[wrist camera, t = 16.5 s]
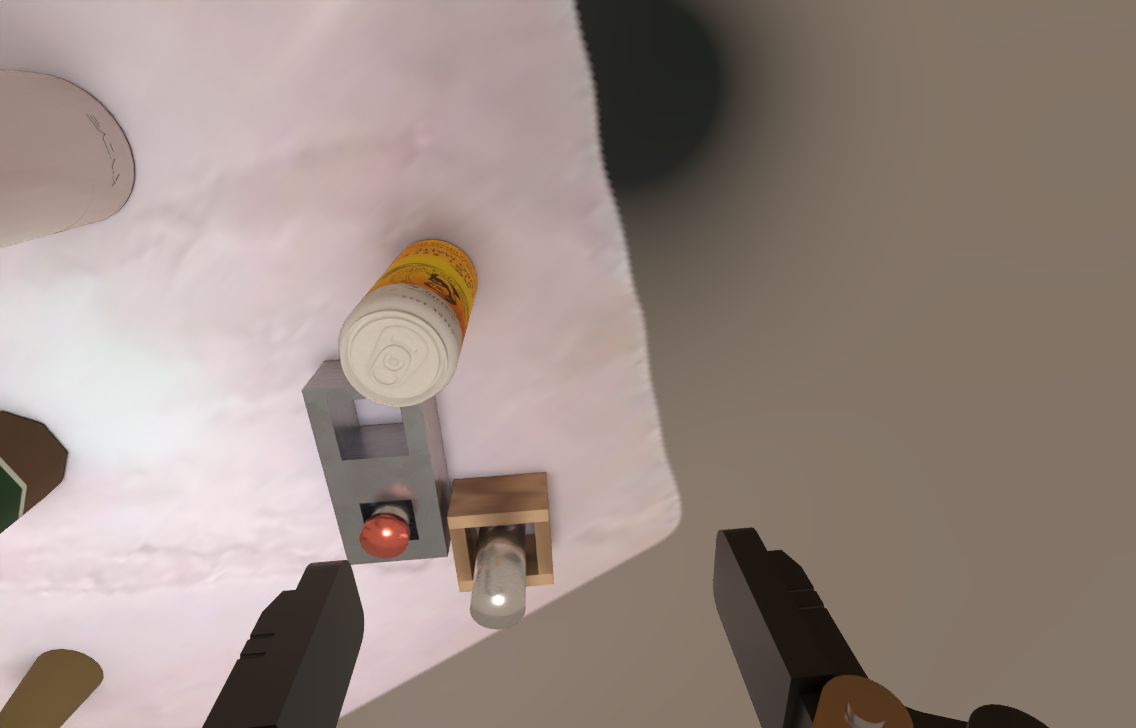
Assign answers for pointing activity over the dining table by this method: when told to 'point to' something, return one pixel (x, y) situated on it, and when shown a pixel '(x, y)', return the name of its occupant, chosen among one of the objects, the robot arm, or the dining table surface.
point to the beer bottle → (26, 466)
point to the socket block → (380, 465)
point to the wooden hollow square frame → (501, 521)
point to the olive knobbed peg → (51, 690)
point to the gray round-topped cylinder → (499, 576)
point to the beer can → (410, 326)
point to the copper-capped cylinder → (387, 529)
